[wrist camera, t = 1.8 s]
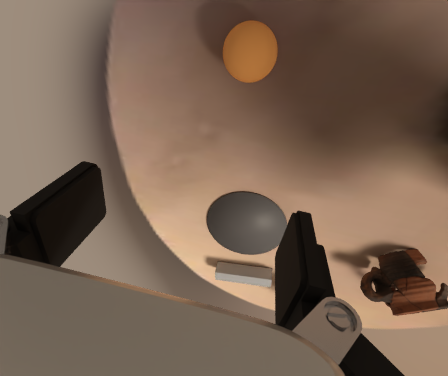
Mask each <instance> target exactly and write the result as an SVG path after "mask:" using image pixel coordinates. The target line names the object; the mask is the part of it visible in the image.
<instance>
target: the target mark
mask: <svg viewBox="0 0 448 376" xmlns="http://www.w3.org/2000/svg"><path fill="white" fill-rule="evenodd" d="M207 225H208V229H209V231H210V233H211V235H212V236H213V238H214V239H215V240H216V241H217V242H218V243H219V244H221V245H222V246H223V247H225V248H227V249H229V250H231V251H233V252H237V253H241V254H248V255H254V254H262V253H265V252H268V251H270V250H272V249H274V248H276V247H277V246H278V245H279V244H280V242H281V239H282V237H283V235H284V232H285V230H286V227H287V222H286V218H285V215H284V213H283V212H282V210H281V209H280V208H279V206H278V205H277V204H275V203H274V202H273V201H272V200H270V199H268V198H266V197H264V196H262V195H259V194H256V193H251V192H235V193H231V194H227V195H225V196H223V197H221V198H219V199H218V200H217V201H216V202H215V203H214V204H213V205H212V206H211V208H210V210H209V212H208V216H207Z"/></svg>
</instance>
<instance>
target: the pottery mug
mask: <svg viewBox="0 0 448 376" xmlns="http://www.w3.org/2000/svg"><path fill="white" fill-rule="evenodd" d="M378 260H379V266H380V269H378V268H377V267H373V268H372V270H371V272H368V273H366V274H365V275H364V276H363V278H362V280H361V286H360V288H361V290H362V292H363V293H364V295H365V296H366V297H367V298H368V299H370V300H371V301H374V302H381V301H383V302H385V304H386V305H387V306H389V307H390V308H391V310H392V312H393V315H396V316H399V315H406V314H414V313H419V312H427V311H433V310H440V309H447V308H448V301H447V297H448V286H447V285H446V284H445V283H442V284H441V289H440V291H439V292H436V285H435V284H434V283H433V281H431V280H430V279H427V278H425V276H424V275H423V273H422V272H421V271H420V269H419V268H418V267H417V265H420V264H426V263H427V261H426V259H425V258H424V257H423V256H422V254H421V253H420V252H419V251H418V250H417V249H416V250H415V249H412V250H405V251H399V252H397V251H396V252H392V253H388V254H385V255H382V256H380V257H378ZM372 281H373V283H374V285H375V289H376V292H375V291H374V290H373V289H372ZM392 283H393V284H394V285H395V286H396V288H397V289H398V290H395V289H394V288H390V287H391V284H392Z"/></svg>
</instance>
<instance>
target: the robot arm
mask: <svg viewBox="0 0 448 376" xmlns="http://www.w3.org/2000/svg"><path fill="white" fill-rule="evenodd" d="M10 214H11V216H10V217H9V218H6V217H5V216H3V215H0V376H404V375H403V374H402V373H401V372H400V371H399V370H398V369H397V368H396V367H395V366H394V365H393V364H392V363H391V362H390V361H389V360H388V359H387V358H386V357H385V356H384V355H383V354H382V353H381V352H380V351H379V350H378V349H377V348H376V347H375V346H374V345H373V344H372V343H371V342H370V341H369V340H368V339H367V338H366V337H364V335H363V334H361V330H362V322H361V320H360V317H359V315H358V314H357V312H356V311H355V310H354V309H353V308H352V306H351V305H349V304H348V303H347V302H345V301H344V300H341V299H339V298H336V297H335V293H334V289H333V284H332V280H331V276H330V271H329V267H328V263H327V258H326V254H325V250H324V247H323V246H322V245H319V244H317V242H316V237H315V232H314V227H313V222H312V217H311V214H310V213H306V212H302V211H297V213H292V215H291V217H290V220H289V222H288V225H287V227H286V230H285V232H284V235H283V237H282V239H281V242H280V244H279V247H278V249H277V252H276V256H275V312H276V313H275V316H276V324H273V323H270V322H267V321H264V320H261V319H258V318H255V317H251V316H247V315H243V314H240V313H237V312H233V311H229V310H226V309H222V308H218V307H214V306H211V305H207V304H203V303H199V302H195V301H192V300H188V299H184V298H180V297H176V296H172V295H168V294H164V293H160V292H157V291H153V290H148V289H145V288H141V287H137V286H133V285H129V284H126V283H121V282H118V281H114V280H110V279H106V278H102V277H98V276H94V275H90V274H86V273H82V272H77V271H74V270H70V269H66V268H62V267H60V266H61V265H62V264H63V263H64V261H65V260H66V259H67V258H68V257H69V256H70V255H71V254H72V253H73V252H74V250H75V249H76V248H77V247H78V246H79V245H80V244H81V242H83V240H84V239H85V238H86V237H87V236H88V235H89V234H90V233H91V232H92V230H93V229H94V228H95V227H96V226H97V225H98V224H99V223H100V221H101V220H102V219H103V218H104V217H105V214H106V206H105V199H104V192H103V184H102V176H101V170H100V168H98V166H97V165H96V164H94V163H89V162H85V161H84V162H81V163H79V164H78V165H77V166H75V167H74V168H72V169H71V170H69V171H68V172H66V173H65V174H64V175H62V176H61V177H59V178H58V179H56V180H55V181H53V182H52V183H51V184H49V185H48V186H46V187H45V188H43V189H42V190H40V191H39V192H37V193H36V194H35V195H33V196H32V197H30V198H29V199H27V200H26V201H24V202H23V203H22V204H20V205H19V206H17V207H16V208H14V209H13V210H12V211H10Z"/></svg>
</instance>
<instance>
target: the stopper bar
mask: <svg viewBox="0 0 448 376" xmlns="http://www.w3.org/2000/svg"><path fill="white" fill-rule="evenodd" d="M215 279H216V280H222V281H229V282H236V283H243V284H250V285H257V286H264V287H271V283H272V268H264V267H256V266H249V265H241V264H233V263H225V262H218V263H217V267H216V271H215Z"/></svg>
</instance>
